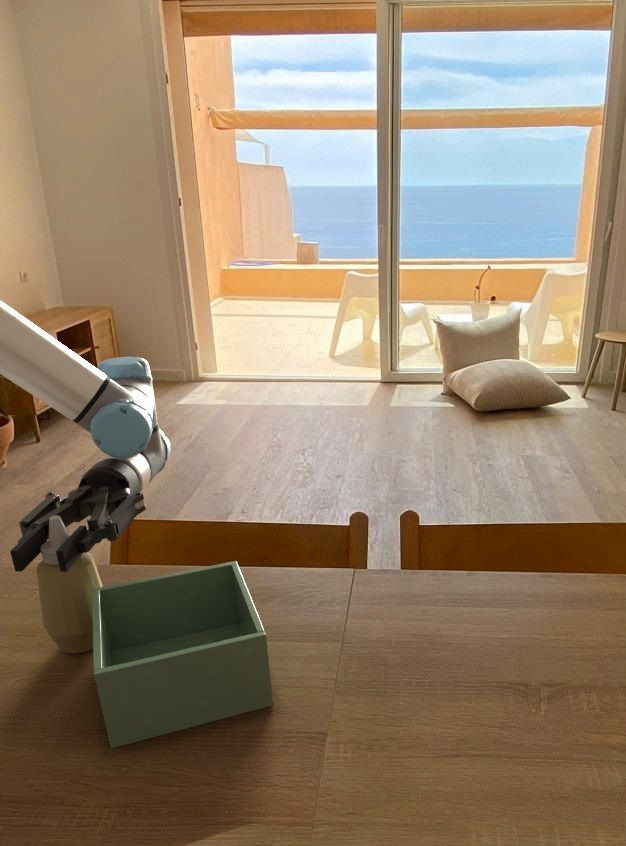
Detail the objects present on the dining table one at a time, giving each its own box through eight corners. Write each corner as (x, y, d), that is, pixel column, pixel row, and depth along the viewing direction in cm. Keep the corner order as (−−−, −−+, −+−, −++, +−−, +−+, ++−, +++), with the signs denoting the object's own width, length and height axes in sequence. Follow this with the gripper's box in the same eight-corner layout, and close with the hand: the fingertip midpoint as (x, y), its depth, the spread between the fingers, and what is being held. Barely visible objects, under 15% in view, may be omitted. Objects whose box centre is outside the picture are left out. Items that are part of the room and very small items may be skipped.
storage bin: (106, 654, 89) (92, 588, 85) (243, 623, 95) (236, 560, 90) (111, 748, 74) (93, 674, 70) (273, 705, 80) (266, 634, 76)
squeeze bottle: (35, 653, 88) (1, 528, 81) (78, 619, 95) (50, 500, 88) (88, 665, 86) (58, 536, 79) (128, 628, 93) (104, 507, 86)
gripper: (178, 505, 102) (119, 589, 81) (61, 505, 103) (-29, 589, 82) (171, 457, 99) (108, 532, 78) (50, 457, 100) (-46, 532, 79)
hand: (38, 561), depth 80 cm, fingers closed on squeeze bottle, 5 cm apart
